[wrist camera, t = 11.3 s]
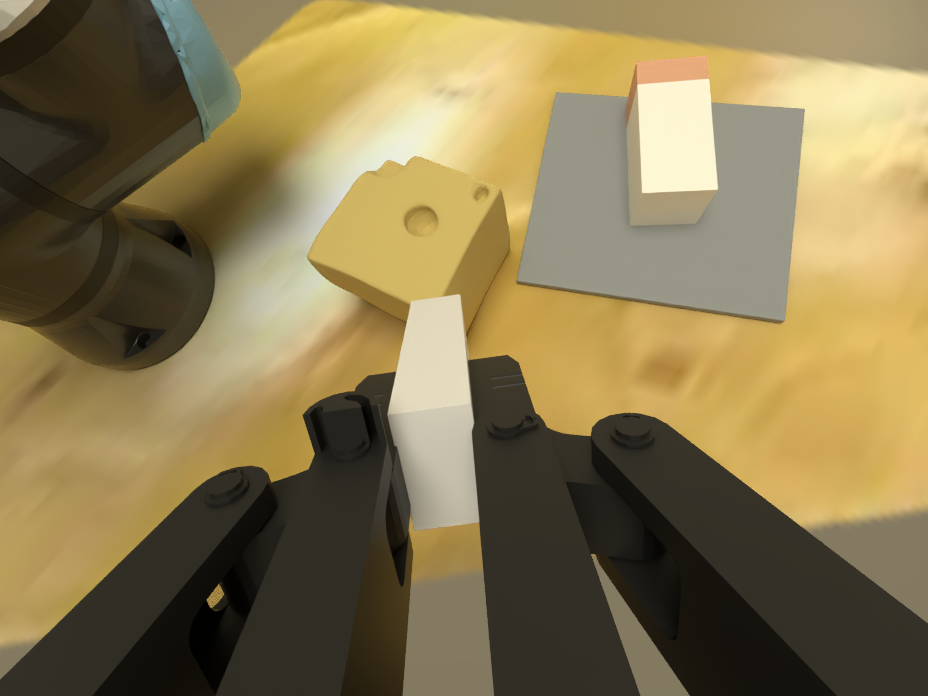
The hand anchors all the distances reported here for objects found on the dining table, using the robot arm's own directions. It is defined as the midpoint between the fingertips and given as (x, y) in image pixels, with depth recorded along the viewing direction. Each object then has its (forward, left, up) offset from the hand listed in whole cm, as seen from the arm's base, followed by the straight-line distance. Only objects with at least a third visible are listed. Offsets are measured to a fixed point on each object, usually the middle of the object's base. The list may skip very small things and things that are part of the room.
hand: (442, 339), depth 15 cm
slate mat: (+9, +20, -23) cm, 32 cm away
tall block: (+10, +17, -20) cm, 28 cm away
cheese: (-8, +10, -24) cm, 27 cm away
